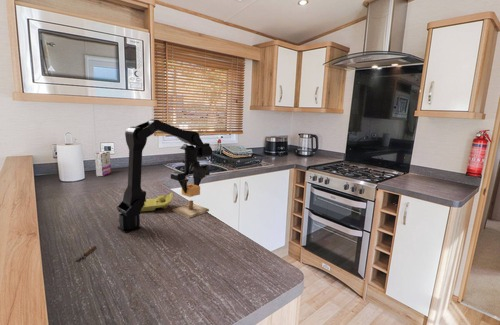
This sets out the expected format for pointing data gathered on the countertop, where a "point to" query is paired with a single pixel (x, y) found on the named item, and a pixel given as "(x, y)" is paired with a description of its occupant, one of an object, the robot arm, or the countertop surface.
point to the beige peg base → (190, 210)
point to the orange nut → (192, 190)
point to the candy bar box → (102, 163)
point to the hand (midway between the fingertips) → (190, 191)
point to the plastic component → (157, 202)
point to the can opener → (86, 253)
